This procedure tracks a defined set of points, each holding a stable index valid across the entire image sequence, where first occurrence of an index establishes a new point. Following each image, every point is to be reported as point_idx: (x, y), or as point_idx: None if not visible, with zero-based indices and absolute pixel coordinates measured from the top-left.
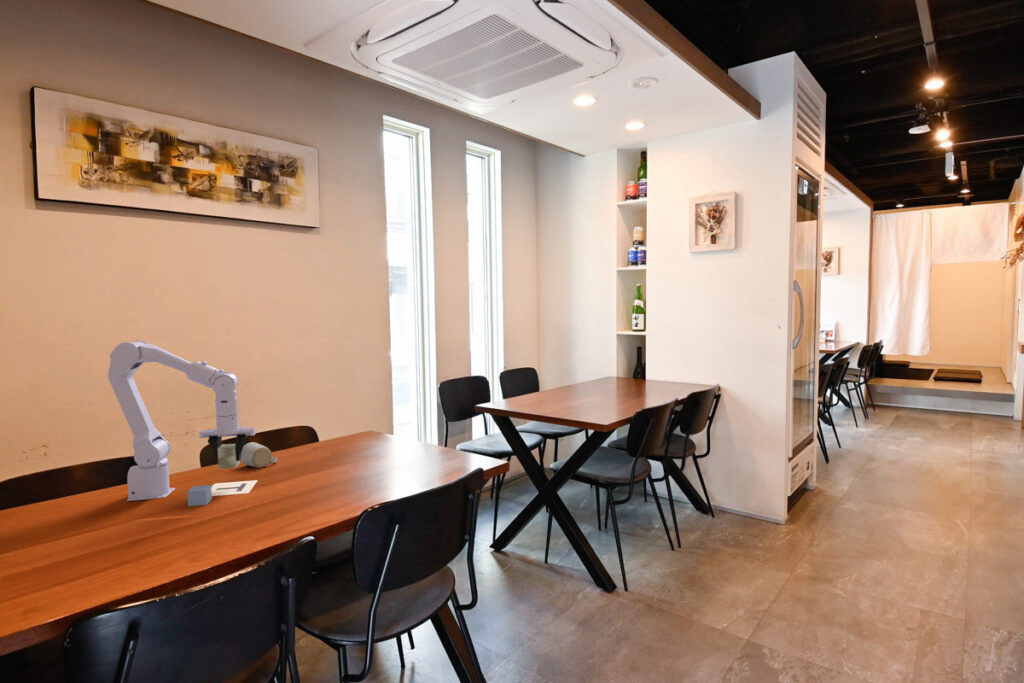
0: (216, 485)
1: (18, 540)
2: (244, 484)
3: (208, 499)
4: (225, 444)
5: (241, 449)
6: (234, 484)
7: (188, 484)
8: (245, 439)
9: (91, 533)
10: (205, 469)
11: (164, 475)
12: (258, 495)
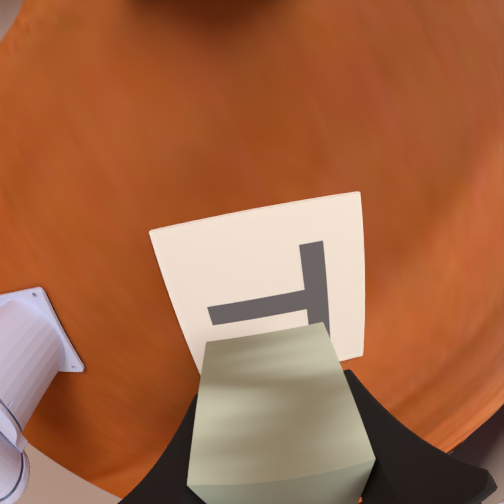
0: (176, 266)
1: (59, 461)
2: (316, 259)
3: None
4: (226, 488)
5: (385, 423)
6: (263, 254)
7: (41, 221)
8: (455, 479)
9: (127, 475)
10: (19, 24)
11: (35, 393)
12: (393, 355)
